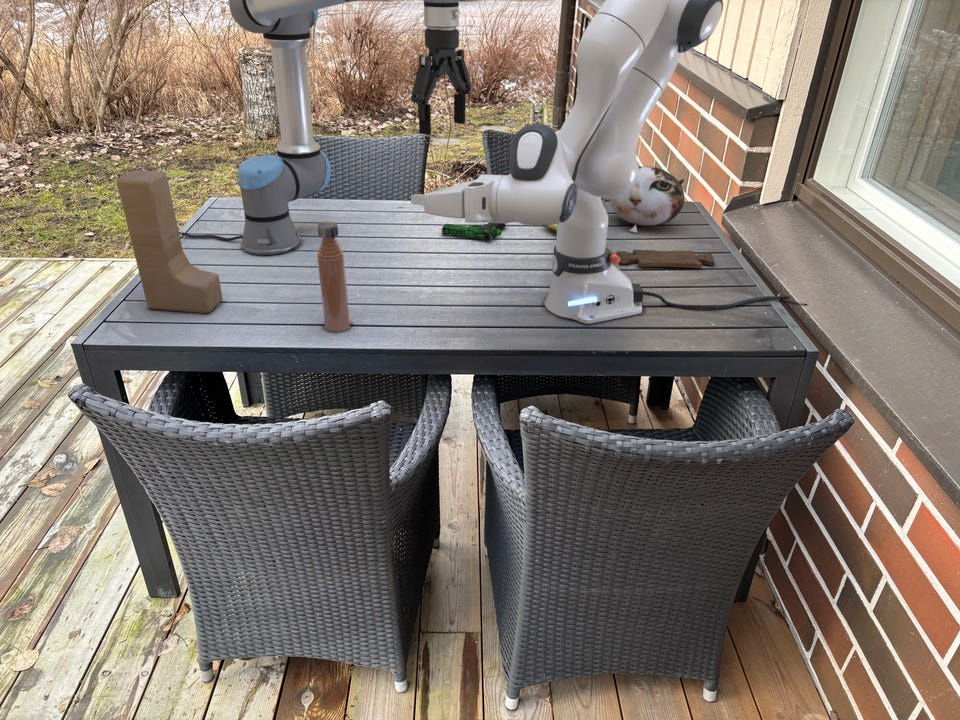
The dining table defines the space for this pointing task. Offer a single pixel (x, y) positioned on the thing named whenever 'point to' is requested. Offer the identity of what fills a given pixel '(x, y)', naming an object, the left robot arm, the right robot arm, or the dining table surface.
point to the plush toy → (651, 199)
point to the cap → (328, 230)
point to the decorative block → (163, 247)
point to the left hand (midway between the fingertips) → (442, 128)
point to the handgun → (475, 231)
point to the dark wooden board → (665, 258)
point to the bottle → (333, 285)
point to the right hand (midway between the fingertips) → (423, 195)
